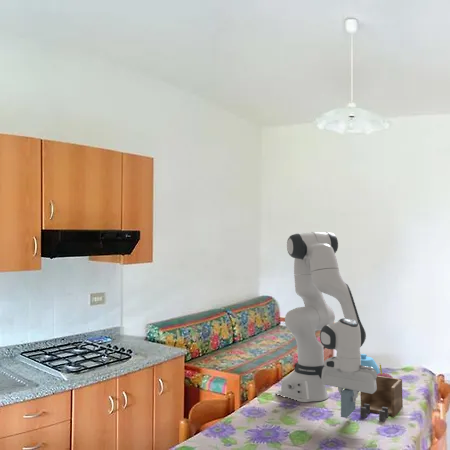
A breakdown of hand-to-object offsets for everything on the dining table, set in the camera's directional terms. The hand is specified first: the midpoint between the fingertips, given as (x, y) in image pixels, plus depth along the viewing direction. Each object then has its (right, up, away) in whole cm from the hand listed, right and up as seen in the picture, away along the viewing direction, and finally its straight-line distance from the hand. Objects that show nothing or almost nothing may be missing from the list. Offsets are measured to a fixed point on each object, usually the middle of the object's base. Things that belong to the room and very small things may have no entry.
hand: (348, 400), depth 179 cm
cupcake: (+26, -9, +38) cm, 47 cm away
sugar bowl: (+22, -10, +56) cm, 61 cm away
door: (0, -5, 0) cm, 5 cm away
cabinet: (+15, -8, +11) cm, 20 cm away
